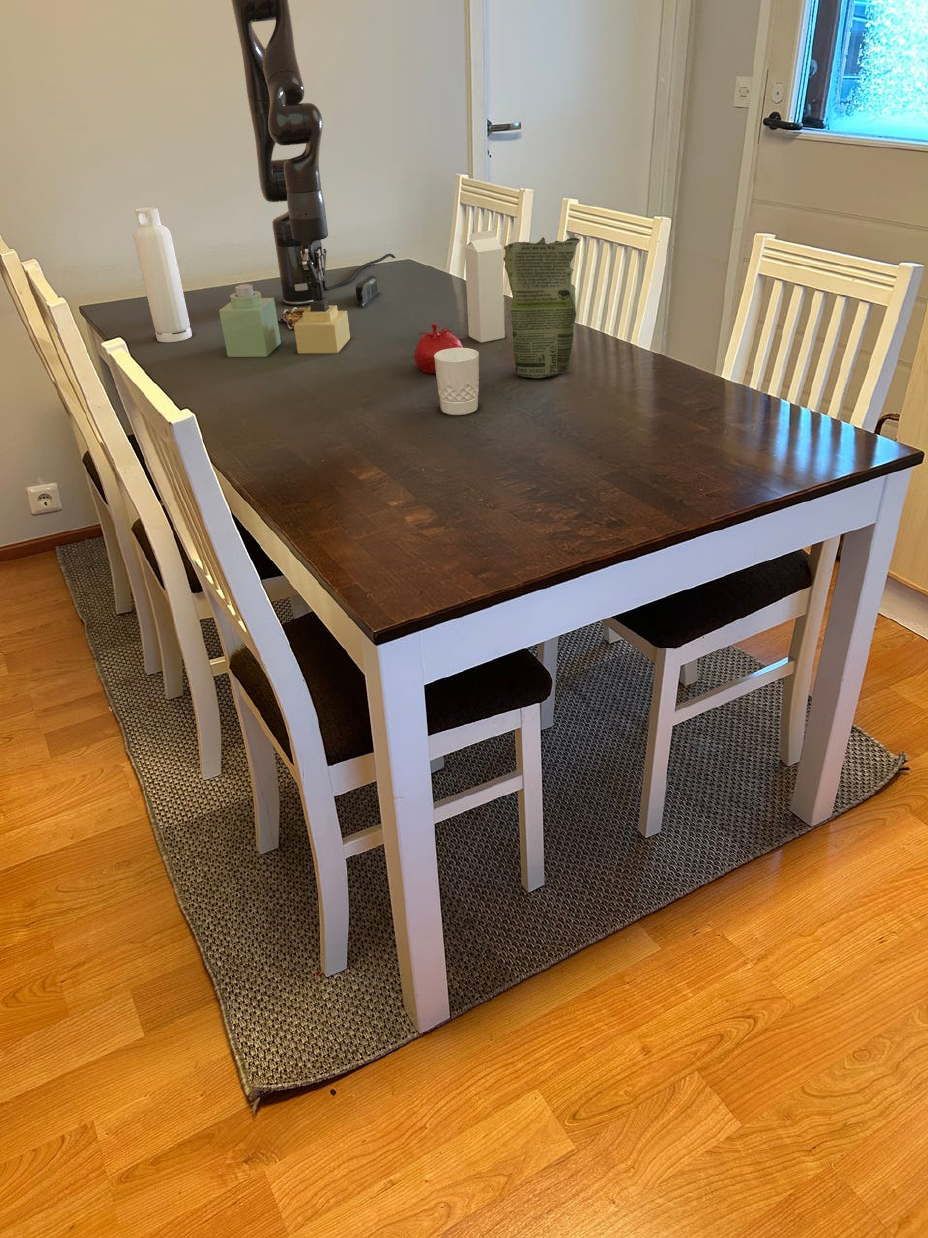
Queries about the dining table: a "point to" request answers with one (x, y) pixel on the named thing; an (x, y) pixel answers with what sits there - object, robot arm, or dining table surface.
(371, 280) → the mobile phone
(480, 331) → the milk
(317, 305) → the charcoal square push button
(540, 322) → the pouch
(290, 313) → the barbecue chicken platter
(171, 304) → the bottle
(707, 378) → the dining table surface
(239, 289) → the round grey push button
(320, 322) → the block
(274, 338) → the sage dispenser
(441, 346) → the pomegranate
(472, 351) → the white cup
